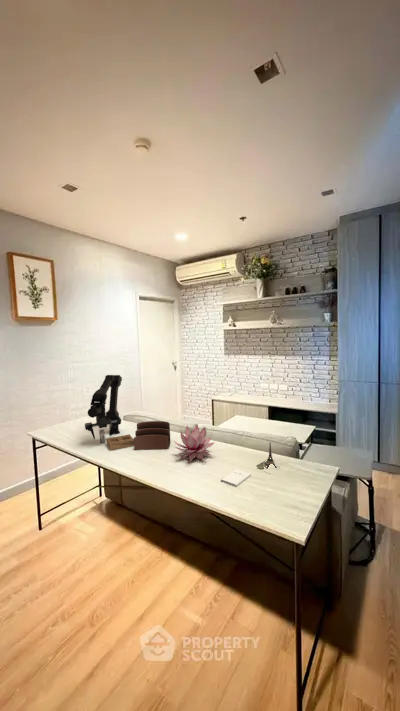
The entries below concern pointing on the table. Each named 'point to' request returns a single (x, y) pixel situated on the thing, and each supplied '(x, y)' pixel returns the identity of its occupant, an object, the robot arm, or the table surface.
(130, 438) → the block
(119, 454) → the table surface
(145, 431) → the letter holder
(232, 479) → the external hard drive
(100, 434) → the pin
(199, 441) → the decorative flower
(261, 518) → the table surface
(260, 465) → the eiffel tower figurine
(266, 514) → the table surface
